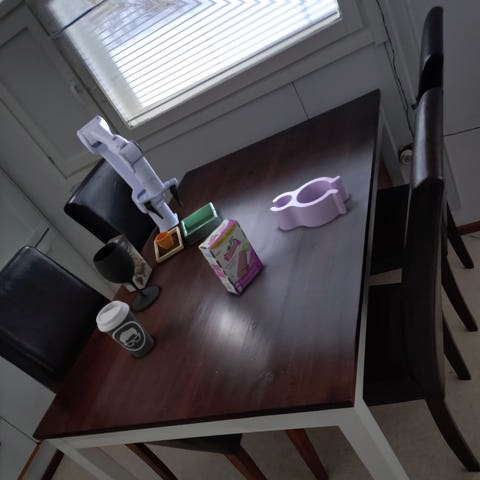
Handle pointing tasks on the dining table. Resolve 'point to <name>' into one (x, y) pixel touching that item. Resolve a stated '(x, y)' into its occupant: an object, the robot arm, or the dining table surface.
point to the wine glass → (122, 272)
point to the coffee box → (141, 266)
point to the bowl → (164, 240)
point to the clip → (311, 204)
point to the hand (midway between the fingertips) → (172, 212)
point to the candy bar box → (231, 256)
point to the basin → (200, 223)
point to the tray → (172, 250)
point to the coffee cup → (124, 328)
